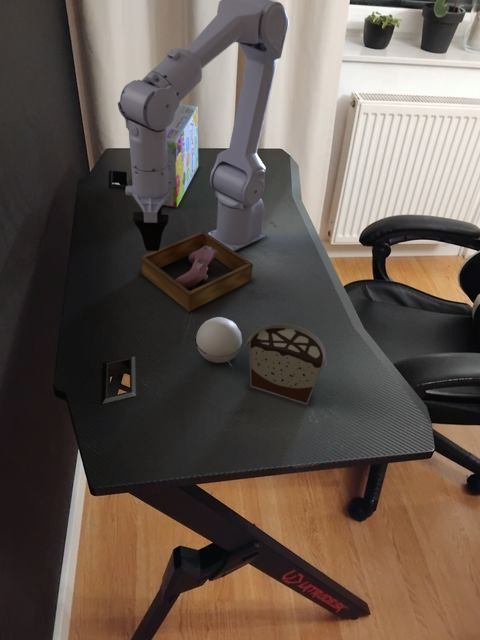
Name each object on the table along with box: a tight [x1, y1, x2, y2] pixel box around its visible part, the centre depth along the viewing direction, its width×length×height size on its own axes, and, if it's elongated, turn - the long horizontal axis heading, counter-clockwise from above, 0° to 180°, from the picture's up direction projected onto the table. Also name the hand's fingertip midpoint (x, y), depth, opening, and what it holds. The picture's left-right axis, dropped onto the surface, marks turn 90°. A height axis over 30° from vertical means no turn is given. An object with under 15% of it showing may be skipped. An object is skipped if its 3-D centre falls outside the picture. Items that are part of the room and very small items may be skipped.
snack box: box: [162, 103, 199, 208], centre depth 128 cm, size 21×6×15 cm, turn 172°
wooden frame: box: [139, 230, 254, 312], centre depth 107 cm, size 15×14×4 cm
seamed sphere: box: [194, 316, 243, 367], centre depth 89 cm, size 10×7×7 cm
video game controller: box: [175, 245, 217, 289], centre depth 106 cm, size 10×5×7 cm, turn 169°
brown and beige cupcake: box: [244, 323, 328, 406], centre depth 86 cm, size 12×6×10 cm, turn 71°
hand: (152, 237), depth 99 cm, fingers open, 7 cm apart
